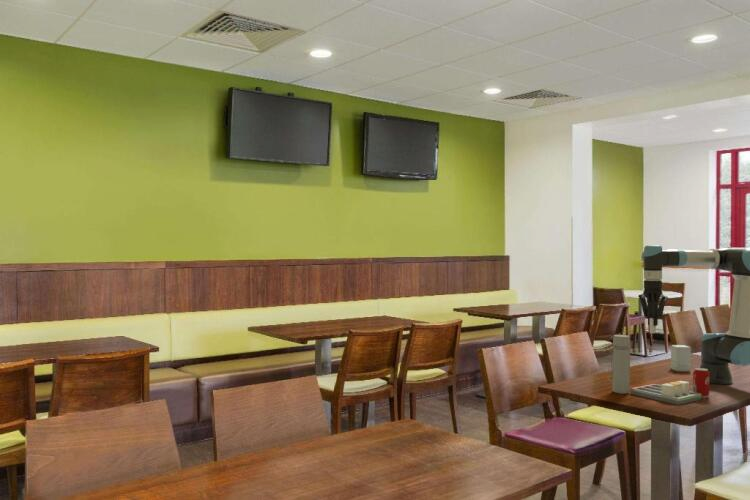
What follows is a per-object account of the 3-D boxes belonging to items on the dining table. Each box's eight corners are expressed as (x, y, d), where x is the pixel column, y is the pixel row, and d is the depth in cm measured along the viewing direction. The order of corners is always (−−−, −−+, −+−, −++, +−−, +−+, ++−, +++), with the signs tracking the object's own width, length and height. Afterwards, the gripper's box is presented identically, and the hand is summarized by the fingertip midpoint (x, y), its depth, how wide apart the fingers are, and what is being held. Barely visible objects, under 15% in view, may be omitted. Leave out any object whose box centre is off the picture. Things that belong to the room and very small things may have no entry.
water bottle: (630, 391, 289) (631, 335, 288) (629, 395, 282) (630, 337, 281) (608, 389, 293) (609, 333, 292) (606, 392, 285) (607, 336, 285)
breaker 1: (666, 395, 276) (666, 383, 276) (675, 397, 272) (675, 385, 272) (661, 396, 273) (661, 384, 273) (670, 398, 270) (670, 386, 270)
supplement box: (690, 371, 336) (691, 347, 335) (676, 371, 336) (676, 347, 335) (684, 368, 343) (684, 344, 343) (670, 368, 343) (670, 344, 343)
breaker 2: (680, 392, 282) (680, 380, 282) (689, 394, 278) (689, 382, 278) (675, 393, 279) (675, 381, 279) (684, 395, 276) (684, 383, 276)
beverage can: (710, 398, 277) (711, 370, 277) (695, 397, 278) (695, 369, 278) (706, 395, 283) (707, 367, 283) (690, 394, 284) (691, 367, 284)
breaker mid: (673, 393, 279) (673, 381, 279) (682, 395, 275) (682, 383, 275) (668, 394, 277) (668, 382, 277) (676, 396, 273) (677, 384, 273)
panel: (653, 389, 293) (653, 383, 293) (701, 399, 275) (701, 393, 275) (630, 393, 284) (630, 388, 284) (678, 404, 266) (678, 398, 266)
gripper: (634, 279, 293) (634, 331, 293) (661, 281, 282) (661, 335, 282) (644, 278, 297) (644, 330, 297) (671, 280, 286) (671, 333, 287)
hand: (652, 332), depth 290 cm, fingers closed
